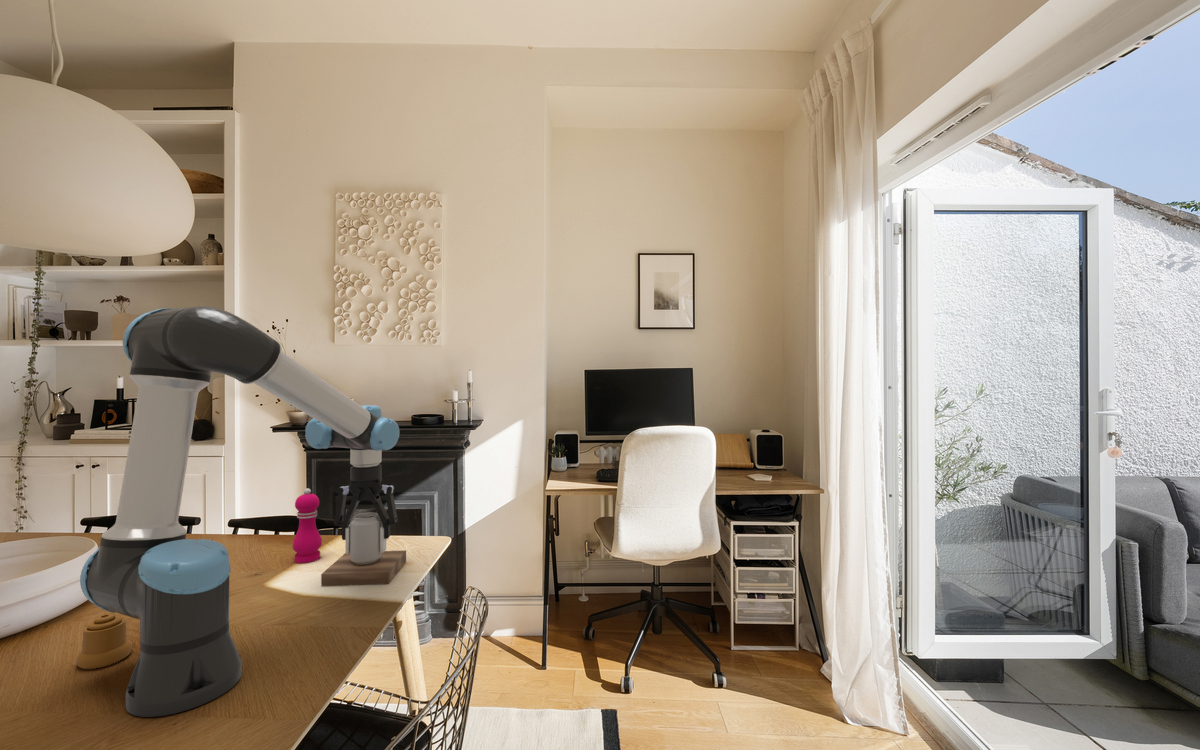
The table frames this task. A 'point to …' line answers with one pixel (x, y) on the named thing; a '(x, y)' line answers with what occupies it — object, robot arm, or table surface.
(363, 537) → the can
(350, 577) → the walnut plinth
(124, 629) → the ornamental finial
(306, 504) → the pepper mill
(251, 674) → the table surface
